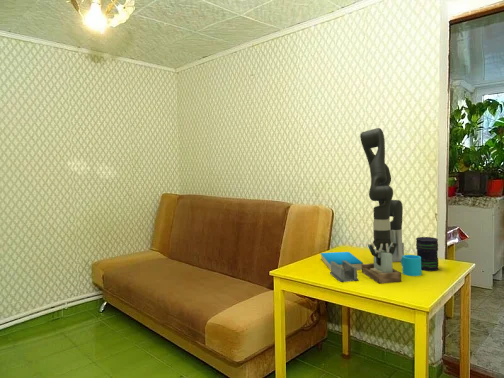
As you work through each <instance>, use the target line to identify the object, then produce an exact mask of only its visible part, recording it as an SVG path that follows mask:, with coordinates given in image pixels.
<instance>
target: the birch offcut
mask: <svg viewBox="0 0 504 378" xmlns="http://www.w3.org/2000/svg"><path fill="white" fill-rule="evenodd" d="M370 271H372V272H373V273H375V274H379V273H383V272H382V271H380V270H377V269H375V268H370Z"/></svg>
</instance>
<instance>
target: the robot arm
mask: <svg viewBox="0 0 504 378" xmlns="http://www.w3.org/2000/svg"><path fill="white" fill-rule="evenodd" d="M359 137H360V138H359V139H360V143H361V146H362V149H363V151H364V154H365V158H366V159H367V162H368V167H369V172H370V187H369V191H368V197H369V200H371V201H372V202H378V205H376V206H374V207H373V211H372V212H373V220H372V221H373V223H372V224H373V226H372V229H373V241H372V243H371V244H370V243H368V244H367V247H368V250H369V252H370V254H371V255H372V256H373V257H374V256H375V257H376V263H377V264H378V265H379V266H380V265H381V258H380V255H381V252H382V250H383V251H386V252H388V253H391V254H392V263H393V262H394V263H395V262H401V259H402V256H403V255H405V246H404V245H405V244H404V242H403V212H404V211H403V209H404V208H403V202H402V201H401V200H399V199H393V197H394V190H393V188H392V187H391V186H390V185H391V182H392V176H391V172H390V171H391V170H390V168H389V166H388V165H387V164H386V163H385V161H386V154H385V153H386V143H385V142H386V141H385V135H384V131H383V130H382V128H380V127H378V128H372V129H369V130H365V131H362V132H361V133H360V136H359ZM374 148H377V150H376V153H374V152H373V150H372V149H374ZM390 217H392V220H390ZM374 249H376V253H375V250H374Z"/></svg>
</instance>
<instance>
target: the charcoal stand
mask: <svg viewBox="0 0 504 378" xmlns="http://www.w3.org/2000/svg"><path fill="white" fill-rule="evenodd" d="M342 267H343V268H342ZM342 267H341V266H340V265H338V264H337V263H335V262H334V261H331V270H330V272H329V274H330V275H331V276H333V278H335V279H336V280H337V281H338V282H339V283H345V282H357V281H359V278H358V270H357V268H356V267H355V266H353V265H352V264H350V263H348V262H347V261H345V260H344V261H342Z"/></svg>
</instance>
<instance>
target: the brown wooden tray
mask: <svg viewBox="0 0 504 378" xmlns="http://www.w3.org/2000/svg"><path fill="white" fill-rule="evenodd" d="M361 265H362V270H361V273H362V274H364V275H365V276H367V277H368V278H369V279H372V280H373V281H374V282H376V283H378V284H389V283H391V284H392V283H402V272H400V271H398V270H397V269H395V268H393V267H392V269H393V272H391V273H379V274H375V273H373V272H372V271H370V268H374V262H373V263H363V264H361Z"/></svg>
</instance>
